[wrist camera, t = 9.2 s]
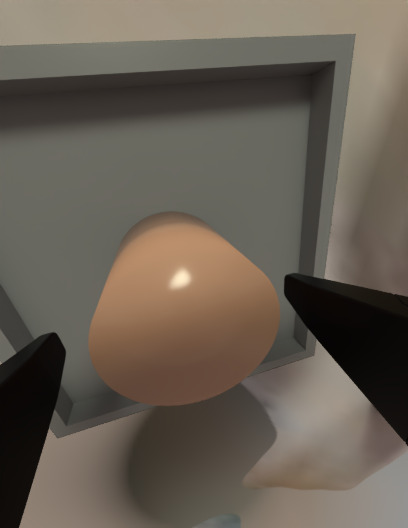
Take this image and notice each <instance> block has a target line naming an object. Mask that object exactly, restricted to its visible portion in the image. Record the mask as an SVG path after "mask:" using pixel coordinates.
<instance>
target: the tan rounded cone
mask: <svg viewBox="0 0 408 528" xmlns="http://www.w3.org/2000/svg"><path fill="white" fill-rule="evenodd" d="M279 322H280V305H279V300H278V296H277V294H276V291H275V288H274V287H273V285H272V283H271V281H270V280H269V279H268V277H267V276H266V275H265V274H264V273H263V272H262V271H261V270H260V269H259V268H258V267H257V266H255V265H254V264H253V263H252V262H251V261H250V260H248V259H247V258H246V257H245V256H244V255H243V254H241V253H240V252H239V251H238V250H237V249H236V248H234V247H233V246H232V245H231V244H230V243H229V242H228V241H226V240H225V239H224V238H223V237H222V236H221V235H219V234H218V233H217V232H216V231H215V230H214V229H212V228H211V227H210V226H209V225H208V224H207V223H205V222H204V221H203V220H201V219H199V218H198V217H195V216H193V215H190V214H187V213H183V212H174V211H169V212H161V213H157V214H153V215H151V216H148V217H146V218H144V219H142V220H141V221H139V222H138V223H136V224H135V225H134V226H133V227H132V228H131V229H130V230H129V231H128V232H127V233H126V235H125V236H124V238H123V239H122V241H121V243H120V246H119V248H118V251H117V254H116V256H115V259H114V262H113V265H112V267H111V270H110V273H109V275H108V278H107V281H106V284H105V286H104V289H103V292H102V294H101V297H100V300H99V303H98V305H97V308H96V311H95V313H94V316H93V319H92V322H91V325H90V330H89V342H88V347H89V353H90V358H91V360H92V363H93V366H94V368H95V370H96V371H97V373H98V375H99V376H100V377H101V379H102V380H103V381H104V382H105V383H106V384H107V385H108V386H109V387H110V388H112V389H113V390H114V391H116V392H117V393H119V394H120V395H122V396H124V397H126V398H129V399H131V400H133V401H137V402H140V403H144V404H149V405H157V406H177V405H186V404H191V403H196V402H199V401H203V400H206V399H208V398H212V397H214V396H216V395H218V394H221V393H223V392H225V391H226V390H228V389H230V388H232V387H234V386H235V385H237V384H238V383H239V382H241V381H242V380H244V379H245V378H246V377H247V376H248V375H250V374H251V373H252V372H253V371H254V370H255V369H256V368H257V367H258V365H259V364H260V363H261V362H262V361H263V359H264V358H265V357H266V355H267V354H268V352H269V350H270V348H271V347H272V345H273V343H274V340H275V338H276V335H277V332H278V327H279Z"/></svg>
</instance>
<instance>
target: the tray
mask: <svg viewBox="0 0 408 528" xmlns="http://www.w3.org/2000/svg"><path fill="white" fill-rule="evenodd" d="M355 35H356V34H341V35H311V36H281V37H251V38H222V39H192V40H162V41H132V42H102V43H73V44H43V45H13V46H0V361H1V363H4V362H5V361H6V360H8V359H9V358H10V357H12V356H13V355H14V354H16V353H17V352H19V351H20V350H21V349H23V348H24V347H25V346H27V345H28V344H29V343H31V342H32V341H34V340H35V339H36V338H38V337H39V336H41V335H43V334H47V333H51V332H55V333H57V334H58V336H59V338H60V340H61V341H62V343H63V345H64V347H65V349H66V358H65V364H64V369H63V375H62V380H61V385H60V391H59V395H58V399H57V403H56V406H55V410H54V413H53V416H52V420H51V423H50V426H49V428H50V429H51V430H52V432H53V433H54V434H55V436H56V437H57V438H60V437H64V436H66V435H70V434H73V433H76V432H79V431H82V430H85V429H88V428H91V427H94V426H98V425H100V424H104V423H107V422H110V421H113V420H116V419H119V418H122V417H125V416H128V415H132V414H135V413H138V412H141V411H144V410H147V409H150V408H153V407H156V406H157V405H149V404H144V403H140V402H137V401H133V400H131V399H129V398H126V397H124V396H122V395H120V394H119V393H117V392H116V391H114V390H113V389H112V388H110V387H109V386H108V385H107V384H106V383H105V382H104V381H103V380H102V379H101V377H100V376H99V375H98V373H97V371H96V370H95V368H94V366H93V363H92V360H91V358H90V353H89V347H88V342H89V330H90V325H91V322H92V319H93V316H94V313H95V311H96V308H97V305H98V303H99V300H100V297H101V294H102V292H103V289H104V286H105V284H106V281H107V278H108V275H109V273H110V270H111V267H112V265H113V262H114V259H115V256H116V254H117V251H118V248H119V246H120V243H121V241H122V239H123V238H124V236H125V235H126V233H127V232H128V231H129V230H130V229H131V228H132V227H133V226H134V225H135V224H136V223H138V222H139V221H141V220H142V219H144V218H146V217H148V216H151V215H153V214H157V213H161V212H169V211H174V212H183V213H187V214H190V215H193V216H195V217H198V218H199V219H201V220H203V221H204V222H205V223H207V224H208V225H209V226H210V227H211V228H212V229H214V230H215V231H216V232H217V233H218V234H219V235H221V236H222V237H223V238H224V239H225V240H226V241H228V242H229V243H230V244H231V245H232V246H233V247H234V248H236V249H237V250H238V251H239V252H240V253H241V254H243V255H244V256H245V257H246V258H247V259H248V260H250V261H251V262H252V263H253V264H254V265H255V266H257V267H258V268H259V269H260V270H261V271H262V272H263V273H264V274H265V275H266V276H267V277H268V279H269V280H270V281H271V283H272V285H273V287H274V288H275V291H276V294H277V296H278V300H279V305H280V322H279V327H278V332H277V335H276V338H275V340H274V343H273V345H272V347H271V348H270V350H269V352H268V354H267V355H266V357H265V358H264V359H263V361H262V362H261V363H260V364H259V365H258V367H257V368H256V369H255V370H254V371H253V372H252V373H251V374H250V375H248V376H247V377H249V376H252V375H255V374H258V373H261V372H264V371H267V370H271V369H274V368H277V367H280V366H283V365H286V364H289V363H292V362H295V361H298V360H301V359H304V358H308V357H311V356H314V353H315V345H316V338H315V336H314V335H313V334H312V333H311V332H310V331H309V329H308V328H307V327H306V326H305V324H304V323H303V322H302V320H301V319H300V318H299V316H298V315H297V313H296V312H295V310H294V309H293V307H292V306H291V305H290V303H289V302H288V300H287V299H286V297H285V295H284V277H285V276H286V275H287V274H291V273H298V274H303V275H308V276H312V277H317V278H322V279H324V275H325V267H326V260H327V252H328V244H329V236H330V229H331V221H332V213H333V205H334V198H335V190H336V182H337V174H338V167H339V159H340V151H341V143H342V136H343V128H344V120H345V112H346V105H347V97H348V89H349V81H350V74H351V66H352V58H353V50H354V43H355Z"/></svg>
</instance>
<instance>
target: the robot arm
mask: <svg viewBox="0 0 408 528" xmlns="http://www.w3.org/2000/svg"><path fill="white" fill-rule="evenodd" d="M284 295H285V297H286V299H287V300H288V302H289V303H290V305H291V306H292V307H293V309H294V310H295V312H296V313H297V315H298V316H299V318H300V319H301V320H302V322H303V323H304V324H305V326H306V327H307V328H308V329H309V331H310V332H311V333H312V334H313V335H314V336H315V338H316V339H317V340H318V341H319V342H320V344H321V345H322V346H323V347H324V348H325V349H326V351H327V352H328V353H329V354H330V355H331V356H332V358H333V359H334V360H335V361H336V362H337V363H338V365H339V366H340V367H341V368H342V369H343V370H344V372H345V373H346V374H347V375H348V376H349V377H350V379H351V380H352V381H353V382H354V383H355V385H356V386H357V387H358V388H359V389H360V390H361V392H362V393H363V394H364V395H365V396H366V397H367V399H368V400H369V401H370V402H371V403H372V404H373V406H374V407H375V408H376V409H377V410H378V411H379V413H380V414H381V415H382V416H383V417H384V418H385V420H386V421H387V422H388V423H389V424H390V425H391V427H392V428H393V429H394V430H395V431H396V433H397V434H398V435H399V436H400V437H401V438H402V440H403V441H405V442H406V444H407V446H408V297H406V296H401V295H397V294H394V295H393V294H392V293H387V292H382V291H378V290H373V289H368V288H364V287H359V286H354V285H350V284H345V283H340V282H336V281H331V280H326V279H322V278H317V277H312V276H308V275H303V274H298V273H291V274H287V275H286V276H285V277H284ZM65 358H66V349H65V347H64V345H63V343H62V341H61V340H60V338H59V336H58V334H57V333H55V332H51V333H47V334H43V335H41V336H39V337H38V338H36V339H35V340H34V341H32V342H31V343H29V344H28V345H27V346H25V347H24V348H23V349H21V350H20V351H19V352H17V353H16V354H14V355H13V356H12V357H10V358H9V359H8V360H6V361H5V362H4V363H2V364H1V365H0V528H19V525H20V523H21V519H22V515H23V513H24V509H25V506H26V502H27V499H28V496H29V492H30V489H31V486H32V483H33V479H34V476H35V473H36V469H37V466H38V463H39V460H40V456H41V453H42V449H43V446H44V443H45V440H46V436H47V433H48V429H49V426H50V423H51V420H52V416H53V413H54V410H55V406H56V403H57V399H58V395H59V391H60V385H61V380H62V375H63V369H64V364H65Z"/></svg>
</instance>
